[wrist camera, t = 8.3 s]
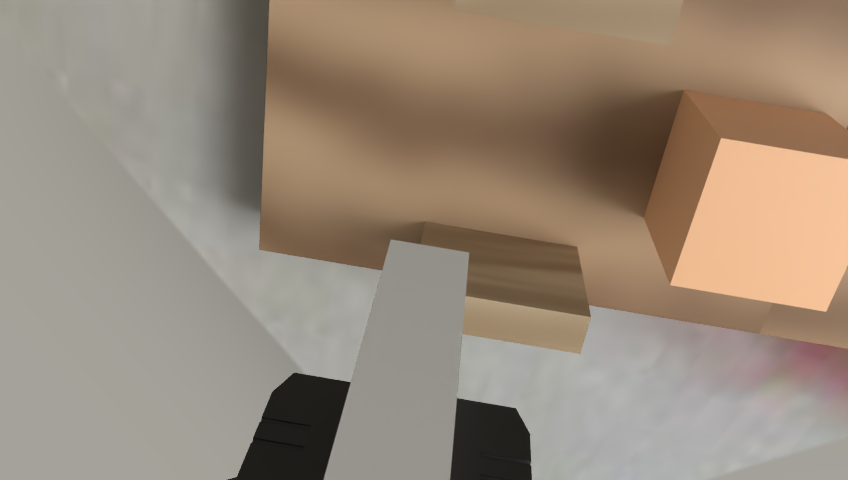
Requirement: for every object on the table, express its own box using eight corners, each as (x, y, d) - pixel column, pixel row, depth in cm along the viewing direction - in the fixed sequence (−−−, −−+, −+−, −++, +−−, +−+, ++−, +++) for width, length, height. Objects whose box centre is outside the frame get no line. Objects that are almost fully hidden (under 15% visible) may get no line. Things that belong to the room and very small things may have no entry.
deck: (297, -132, 27) (223, -127, 20) (1085, -7, 26) (1303, 44, 19) (278, 218, 33) (218, 316, 26) (909, 323, 33) (1022, 453, 26)
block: (683, 89, 26) (721, 138, 22) (827, 113, 26) (894, 167, 21) (643, 217, 28) (670, 285, 24) (775, 240, 28) (826, 311, 24)
